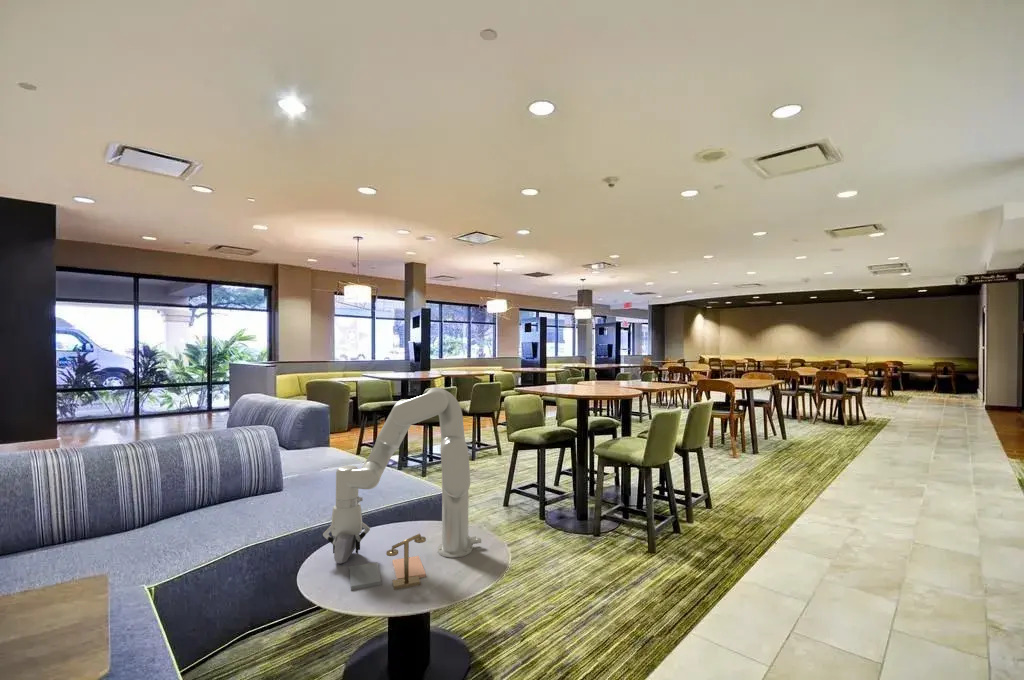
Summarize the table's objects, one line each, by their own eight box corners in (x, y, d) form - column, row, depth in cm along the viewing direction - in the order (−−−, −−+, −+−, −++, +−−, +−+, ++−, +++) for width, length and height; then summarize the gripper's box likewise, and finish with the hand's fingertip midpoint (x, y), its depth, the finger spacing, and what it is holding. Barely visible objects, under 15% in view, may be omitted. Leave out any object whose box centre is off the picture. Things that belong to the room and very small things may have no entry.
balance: (424, 578, 154) (424, 530, 154) (426, 584, 150) (426, 535, 150) (385, 585, 150) (385, 535, 150) (387, 591, 146) (387, 540, 146)
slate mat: (377, 565, 163) (377, 562, 163) (381, 585, 150) (381, 581, 150) (349, 570, 160) (349, 566, 160) (350, 590, 147) (350, 586, 147)
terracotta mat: (418, 559, 168) (418, 555, 168) (425, 577, 155) (425, 573, 155) (392, 563, 165) (392, 559, 165) (397, 582, 152) (397, 578, 152)
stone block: (345, 567, 162) (346, 538, 162) (332, 566, 162) (333, 537, 162) (362, 552, 173) (362, 525, 173) (349, 551, 174) (350, 524, 174)
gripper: (371, 496, 174) (371, 545, 174) (320, 501, 168) (320, 552, 168) (373, 502, 167) (372, 554, 167) (320, 508, 161) (319, 561, 161)
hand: (346, 553), depth 168 cm, fingers closed on stone block, 6 cm apart
